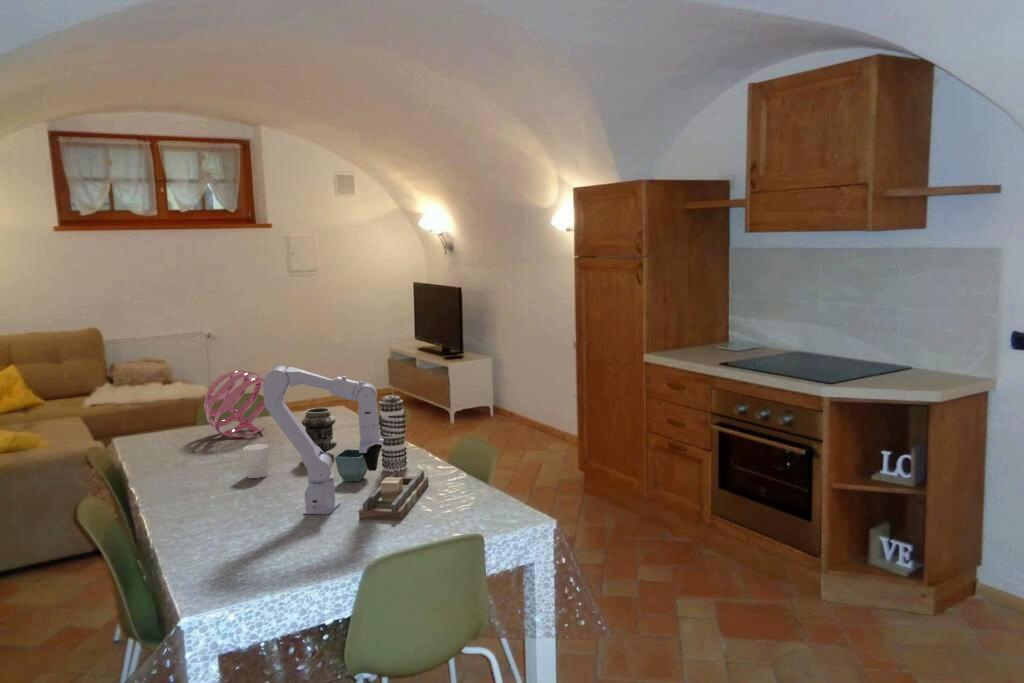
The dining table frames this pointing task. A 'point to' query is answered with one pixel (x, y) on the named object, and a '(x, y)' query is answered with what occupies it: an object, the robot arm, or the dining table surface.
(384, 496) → the maple block
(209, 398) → the pink slatted sphere
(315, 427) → the apothecary jar
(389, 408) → the black and white cylinder
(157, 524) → the dining table surface
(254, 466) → the white cup
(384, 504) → the trap box
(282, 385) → the robot arm
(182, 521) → the dining table surface
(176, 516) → the dining table surface
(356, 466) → the flower pot
